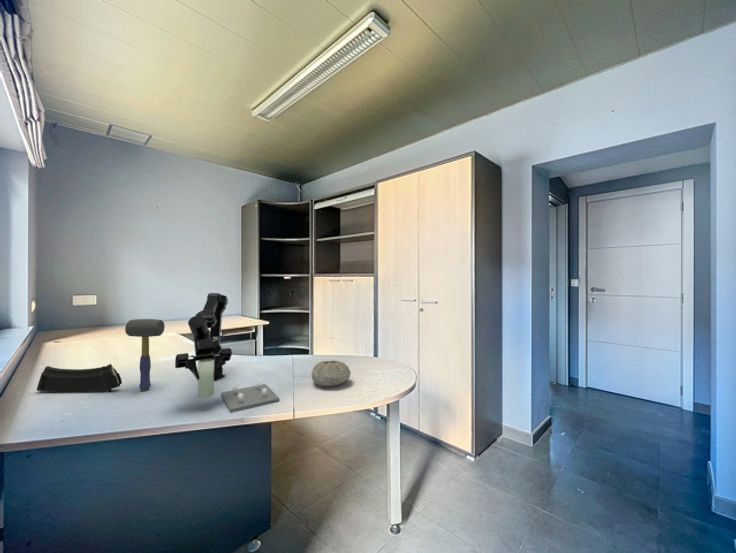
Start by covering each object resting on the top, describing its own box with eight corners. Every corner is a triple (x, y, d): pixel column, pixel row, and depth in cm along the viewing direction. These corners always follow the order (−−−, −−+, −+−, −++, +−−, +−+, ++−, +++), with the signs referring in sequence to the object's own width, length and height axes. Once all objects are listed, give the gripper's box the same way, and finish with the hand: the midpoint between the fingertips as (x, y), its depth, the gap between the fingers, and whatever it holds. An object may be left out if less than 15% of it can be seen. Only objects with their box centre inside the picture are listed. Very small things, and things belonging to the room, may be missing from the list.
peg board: (220, 395, 126) (221, 385, 126) (265, 386, 137) (265, 377, 137) (230, 412, 112) (230, 401, 111) (279, 401, 122) (279, 390, 122)
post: (194, 396, 113) (194, 362, 113) (206, 390, 118) (206, 358, 118) (205, 398, 111) (205, 363, 111) (216, 393, 116) (217, 360, 116)
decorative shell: (319, 375, 153) (319, 355, 153) (354, 378, 149) (354, 358, 149) (305, 388, 135) (305, 366, 135) (344, 392, 132) (344, 369, 132)
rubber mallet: (165, 386, 135) (166, 317, 134) (155, 393, 127) (156, 320, 127) (134, 386, 133) (135, 317, 133) (123, 393, 126) (123, 320, 125)
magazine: (29, 371, 124) (105, 349, 126) (37, 368, 127) (111, 347, 130) (42, 411, 125) (118, 389, 127) (50, 408, 128) (124, 386, 130)
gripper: (175, 332, 112) (178, 371, 103) (231, 327, 123) (237, 362, 114) (174, 349, 118) (176, 387, 110) (226, 343, 129) (232, 377, 120)
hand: (206, 377), depth 113 cm, fingers closed on post, 5 cm apart
